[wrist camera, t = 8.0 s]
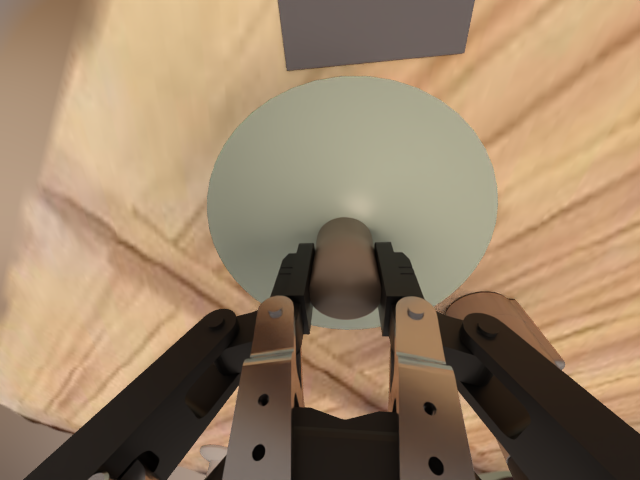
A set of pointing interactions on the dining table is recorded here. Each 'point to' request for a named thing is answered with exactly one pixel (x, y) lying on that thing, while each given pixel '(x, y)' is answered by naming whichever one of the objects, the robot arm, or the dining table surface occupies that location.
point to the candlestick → (213, 455)
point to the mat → (371, 30)
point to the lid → (352, 194)
